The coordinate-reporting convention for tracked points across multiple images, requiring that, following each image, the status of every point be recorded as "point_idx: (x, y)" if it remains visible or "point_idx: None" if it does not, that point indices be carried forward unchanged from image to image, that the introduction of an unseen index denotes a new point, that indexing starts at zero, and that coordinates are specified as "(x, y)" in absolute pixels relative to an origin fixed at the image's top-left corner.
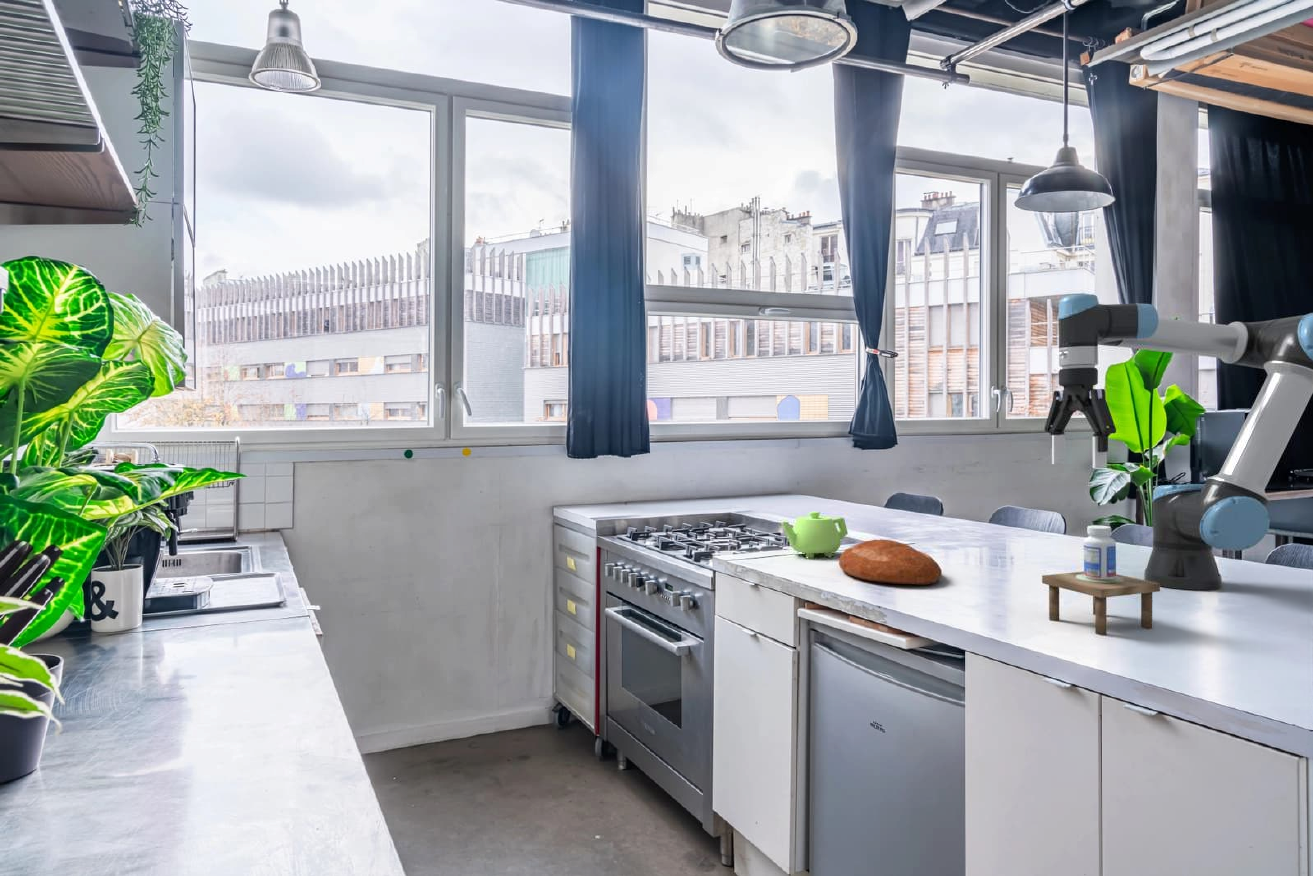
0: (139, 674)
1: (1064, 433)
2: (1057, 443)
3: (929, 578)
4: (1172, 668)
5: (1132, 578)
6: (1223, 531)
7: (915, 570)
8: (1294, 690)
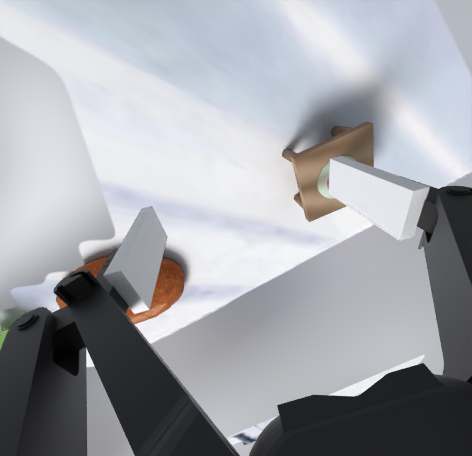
0: None
1: (88, 273)
2: (150, 271)
3: (178, 267)
4: (419, 167)
5: (343, 140)
6: None
7: (179, 282)
8: None
